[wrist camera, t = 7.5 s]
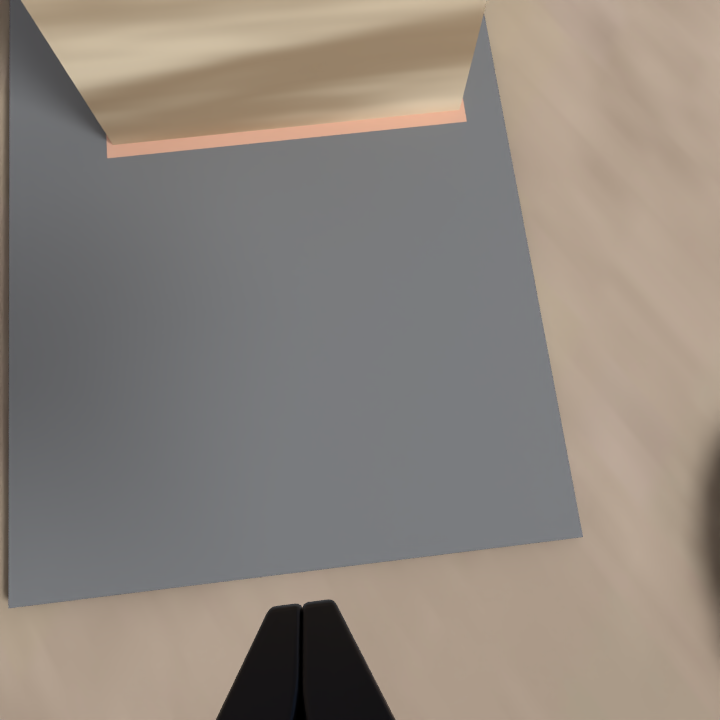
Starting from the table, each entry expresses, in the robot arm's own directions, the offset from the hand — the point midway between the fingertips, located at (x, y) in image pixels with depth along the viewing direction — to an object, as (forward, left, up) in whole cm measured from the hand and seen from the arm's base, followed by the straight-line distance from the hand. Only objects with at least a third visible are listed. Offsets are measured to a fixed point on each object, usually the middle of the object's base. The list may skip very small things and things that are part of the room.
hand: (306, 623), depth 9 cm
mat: (+5, +12, -12) cm, 18 cm away
